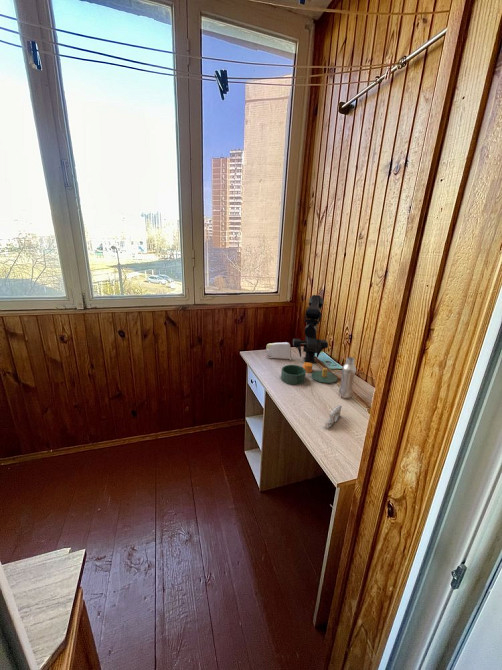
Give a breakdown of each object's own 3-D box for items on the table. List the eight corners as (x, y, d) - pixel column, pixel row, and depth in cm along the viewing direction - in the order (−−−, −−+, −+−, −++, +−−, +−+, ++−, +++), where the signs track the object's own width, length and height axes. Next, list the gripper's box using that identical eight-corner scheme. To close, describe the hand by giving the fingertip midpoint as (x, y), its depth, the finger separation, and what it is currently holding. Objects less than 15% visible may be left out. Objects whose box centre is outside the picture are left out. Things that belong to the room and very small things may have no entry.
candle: (302, 368, 170) (303, 362, 168) (311, 368, 169) (311, 362, 168) (303, 372, 165) (304, 365, 164) (312, 372, 165) (313, 366, 163)
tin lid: (309, 371, 166) (310, 362, 164) (334, 372, 165) (335, 363, 163) (313, 383, 153) (314, 373, 151) (339, 384, 153) (340, 375, 151)
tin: (280, 373, 164) (281, 364, 162) (303, 374, 163) (304, 365, 161) (281, 384, 152) (282, 374, 150) (306, 385, 151) (307, 376, 149)
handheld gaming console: (267, 359, 185) (291, 358, 182) (267, 361, 183) (291, 360, 179) (266, 342, 182) (290, 342, 178) (265, 344, 179) (289, 343, 176)
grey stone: (328, 429, 118) (330, 417, 116) (324, 427, 119) (325, 415, 117) (340, 416, 127) (342, 404, 125) (336, 414, 128) (338, 402, 126)
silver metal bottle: (352, 394, 144) (358, 356, 137) (351, 401, 138) (358, 362, 131) (338, 391, 146) (343, 354, 139) (337, 398, 140) (343, 360, 133)
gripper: (295, 335, 152) (293, 362, 157) (331, 336, 151) (328, 364, 156) (293, 328, 162) (291, 354, 168) (327, 329, 161) (324, 355, 167)
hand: (308, 357), depth 164 cm, fingers open, 9 cm apart
